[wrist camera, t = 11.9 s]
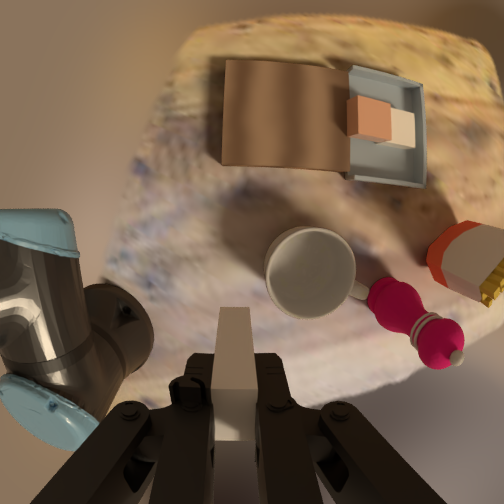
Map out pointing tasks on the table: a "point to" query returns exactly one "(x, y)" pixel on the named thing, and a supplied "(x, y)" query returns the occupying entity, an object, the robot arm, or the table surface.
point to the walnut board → (285, 116)
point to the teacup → (311, 272)
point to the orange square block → (369, 119)
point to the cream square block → (401, 130)
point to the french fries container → (469, 260)
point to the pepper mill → (417, 323)
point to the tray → (384, 157)
